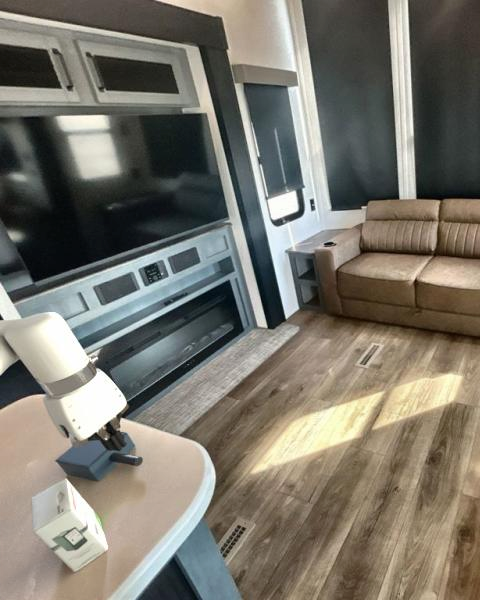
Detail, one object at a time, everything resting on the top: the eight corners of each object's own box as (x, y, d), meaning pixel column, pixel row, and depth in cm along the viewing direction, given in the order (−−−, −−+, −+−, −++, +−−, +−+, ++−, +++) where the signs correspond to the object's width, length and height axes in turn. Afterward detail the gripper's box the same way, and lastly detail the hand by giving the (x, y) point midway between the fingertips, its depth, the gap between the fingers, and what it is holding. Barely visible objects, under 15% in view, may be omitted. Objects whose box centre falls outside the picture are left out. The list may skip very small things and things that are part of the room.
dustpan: (113, 472, 70) (124, 487, 72) (151, 436, 78) (160, 450, 80) (54, 460, 75) (66, 474, 77) (95, 427, 82) (105, 440, 84)
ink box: (67, 538, 64) (28, 496, 59) (101, 516, 67) (66, 475, 62) (73, 574, 59) (30, 532, 53) (109, 549, 61) (72, 507, 56)
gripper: (94, 351, 73) (135, 417, 82) (8, 405, 60) (67, 476, 69) (122, 354, 71) (161, 421, 80) (39, 410, 58) (96, 483, 67)
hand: (118, 447), depth 74 cm, fingers closed
